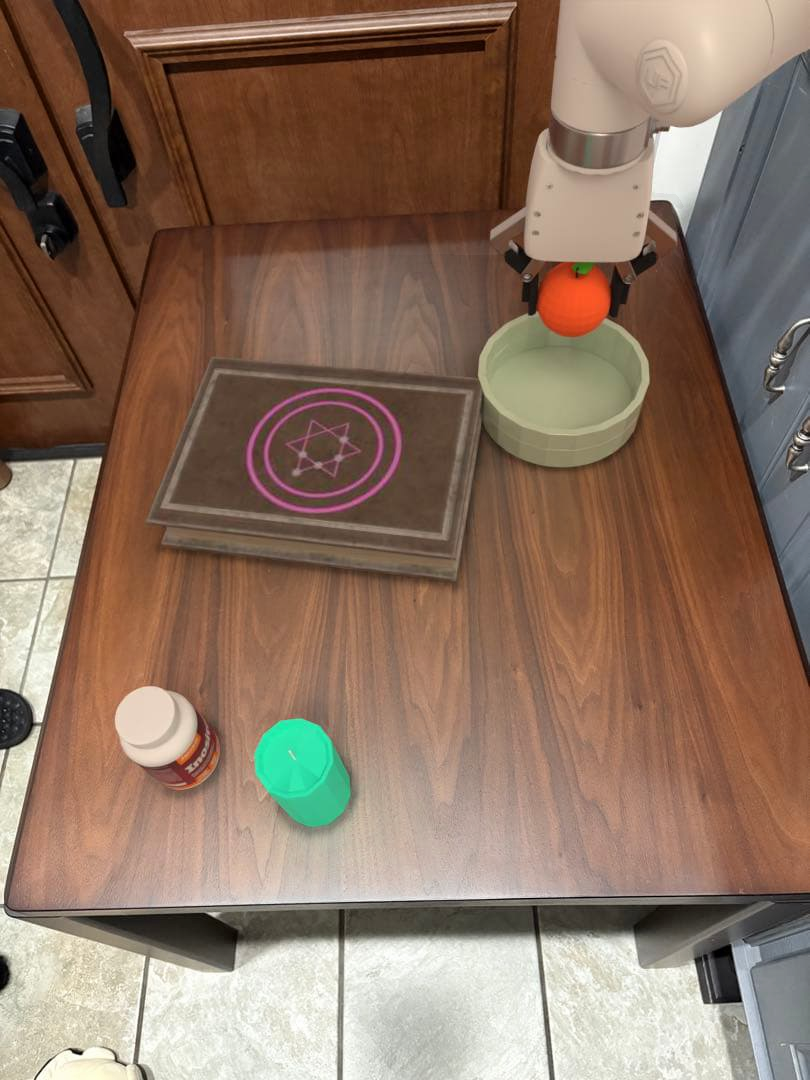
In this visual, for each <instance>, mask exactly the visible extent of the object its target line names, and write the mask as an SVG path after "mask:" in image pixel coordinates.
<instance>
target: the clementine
mask: <svg viewBox="0 0 810 1080" xmlns="http://www.w3.org/2000/svg"><path fill="white" fill-rule="evenodd" d="M596 263H597V262H561V263H559V264H557V265H555V266H554V267H553V268H551V269H550V270H548V272H546V274H545V275H544V277H543V279H542V280H541V281H540V282H539V286H538V296H537V306H536V312H537V311H538V313H539V316H540V318H541V320H542V322H543V323H544V324H545V326H546V327H547V328H549V329H550V330H551V331H553V332H554V333H556V334H558V335H561V336H564V337H579V336H583V335H585V334H587V333H589V332H591V331H593V330H595V329H596V328H597V327H598V326H599V325H600V324H601V323H602V322H603V320H604V319H605V318H606V317H607V316H608V315H609V309H610V305H611V287H610V285H611V283H610V282H609V279H608V277H607V276H606V273H604V272H603V271H602V270H601V269H600V268H599V267H598V266H596ZM600 264H601V265H602V264H603V262H600ZM606 319H607V318H606Z"/></svg>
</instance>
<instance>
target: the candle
mask: <svg viewBox="0 0 810 1080" xmlns="http://www.w3.org/2000/svg"><path fill="white" fill-rule="evenodd" d="M253 757H254V769H255V770H254V773H255V776H256V777H257V778H258V780H259V781H260V783H261V785H262V786H263V787H264V789H265V790H266V792H268V794H269V795H270V796H271V797H272V798H273V800H274V801H275V802H276V803H277V804H278V805H279V806H280V807H281V808H282V810H284V812H286V814H287V815H288V816H289V817H290V818H291V819H292V820H293V821H294V822H297V823H299V824H301V825H304V826H305V827H309V828H316V827H321V826H327V825H330V824H331V823H333V822H334V821H335V820H336V819H338V818H339V817H340V816H341V815H343V814H344V812H345V811H346V808H347V806H348V804H349V801H350V799H351V796H352V790H351V789H352V788H351V780H350V779H351V778H350V775H349V773H348V771H347V768H346V766H345V765H344V763H343V761H342V759H341V757H340V755H339V752H338V751H337V749H336V747H335V745H334V743H333V741H332V740H331V738H330V737H329V736H328V735H327V733H326V732H325V731H324V729H323V728H322V727H321V725H319V724H316V723H313V722H311V721H309V720H306V719H304V718H300V717H299V718H293V719H283V720H282V719H281V720H279V721H278V722H276V724H274V725H273V726H272V727H270V728H269V729H268V730H267V731H265V732H264V733H263V735H262V737H261V738H260V740H259V743H258V744H257V746H256V749H255V751H254V753H253Z"/></svg>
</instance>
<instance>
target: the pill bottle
mask: <svg viewBox="0 0 810 1080" xmlns="http://www.w3.org/2000/svg"><path fill="white" fill-rule="evenodd" d="M114 727H115V730H116V732H117V734H118V737H119V742H120V746H121V749H122V750H123V752H124V754H125V755H126V756H127V757H128V758H129V759H130V760H131V761H132V762H133V763H135V764H136V765H137V766H139V767H140V768H141V769H143V770H144V771H145V772H146V773H147V774H149V775H150V776H151V777H152V778H154V780H156V781H157V782H158V783H159V784H160V785H163V786H164V787H166V788H169V789H172V790H178V791H183V790H188V789H192V788H195V787H198V786H199V785H201V784H202V783H203V782H205V781H206V780H207V779H208V778H209V777H210V776H212V774H213V772H215V769H216V767H217V765H218V763H219V760H220V755H221V745H220V740H219V738H218V735H217V734H216V732H215V730H214V729H213V728H212V727H211V725H210V724H209V723H208V722H207V721H206V719H205V718H204V717H203V716H202V715H201V714H200V712H199V711H198V710H197V709H196V708H195V706H194V705H193V704H192V703H191V702H190V701H189V700H188V699H187V698H186V697H185V696H184V695H182V694H180V693H178V692H175V691H172V690H165V689H163V688H161V687H159V686H154V685H152V686H151V685H148V686H147V685H145V686H141V687H139V688H136V689H135V690H131V692H129V693H128V694H127V695H126V696H125V697H124V698H123V699H122V700H121V701H120V703H119V705H117V709H116V710H115V715H114Z"/></svg>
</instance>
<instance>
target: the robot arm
mask: <svg viewBox="0 0 810 1080" xmlns="http://www.w3.org/2000/svg"><path fill="white" fill-rule="evenodd" d="M557 24H558V25H557V34H556V45H555V56H554V67H553V77H552V78H553V79H552V87H551V89H552V90H551V100H550V101H551V102H550V108H549V119H548V120H549V121H548V128H545V129H544V130H542V131H541V132H540V133H539V135H538V138H537V141H536V144H535V147H534V151H533V155H532V160H531V164H530V170H529V175H528V182H527V190H526V196H525V197H526V199H525V206H524V207H522V208H521V209H520V210H518V211H517V212H516V213H514V214H512V215H511V216H510V217H508V218H507V219H504V220H503V221H502V222H501V223H499V224H498V225H497V226H495V227H493V228H492V229H491V230H490V232H489V240H488V241H489V245H490V246H491V247H492V248H493V249H494V251H495V252H497V254H499V256H501V257H503V259H504V262H505V264H507V265H508V266H509V267H510V268H512V270H514V271H515V272H516V273H517V274H518V275H520V276H519V278H520V280H521V281H522V286H521V303H528V307H527V313H528V316H533V315H534V314H536V312H537V296H538V289H539V286H540V271H541V269H542V268H543V267H544V266H545V264H546V263H547V262H561V263H563V262H596V263H601V262H602V263H614V265H613V271H612V275H611V279H610V287H611V305H610V309H609V311H608V316H609V317H610V318H612V319H613V318H615V319H617V318H618V315H619V310H620V306H621V305H627V303H628V302H627V301H628V297H629V294H630V288H631V284H634V283H635V282H636V281H637V277H638V276H639V275H641V274H642V273H644V272H646V271H647V270H649V269H650V268H652V267H654V266H655V265H656V264H657V261H658V260H659V259H663V257H665V256H666V255H667V254H669V253H670V252H672V251H673V250H675V249H676V248H677V246H678V236H677V232H676V231H675V230H674V229H673V228H671V226H669V224H667V223H666V222H665V221H663V220H662V219H661V218H660V217H659V216H658V215H657V214H655V213H654V212H653V211H652V210H651V209H650V208H651V199H652V190H653V179H654V169H655V139H654V135H655V134H656V135H658V134H659V133H661V132H663V133H664V132H665V133H666V132H667V133H668V132H669V131H670V129H671V127H673V128H679V129H680V128H681V129H684V128H692V127H695V126H698V125H702V124H703V123H706V122H707V121H709V120H710V119H712V118H714V117H715V116H717V115H719V113H721V112H722V111H724V110H725V109H727V107H729V106H730V105H731V104H733V103H734V102H735V101H737V100H738V99H739V98H741V97H742V96H744V95H745V94H746V93H747V92H749V91H750V90H751V89H752V88H753V87H755V86H756V85H757V84H759V83H760V82H761V81H763V80H765V78H767V77H768V76H770V75H771V74H772V73H774V72H775V71H777V70H778V69H779V68H781V67H782V66H783V65H785V64H786V63H788V62H789V61H791V60H792V59H793V58H795V57H796V56H798V55H801V54H802V53H805V52H806V51H810V0H560V1H559V12H558V22H557ZM521 234H523V247H522V246H521V245H520V244H519V243H518V242H516V241H513V239H515V238H516V237H518V236H519V235H521ZM646 236H647V237H649V238H650V239H651V242H649V243H646V244H644V243H645V238H646Z"/></svg>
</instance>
